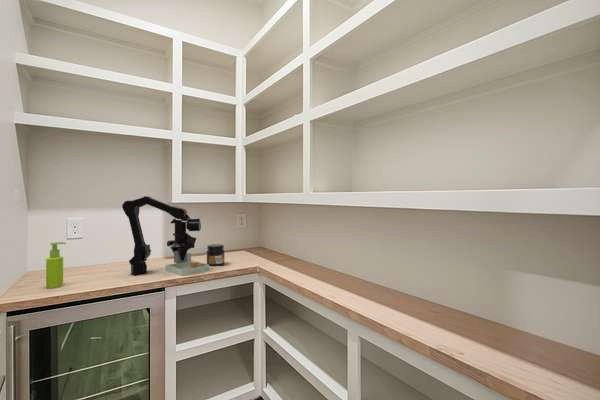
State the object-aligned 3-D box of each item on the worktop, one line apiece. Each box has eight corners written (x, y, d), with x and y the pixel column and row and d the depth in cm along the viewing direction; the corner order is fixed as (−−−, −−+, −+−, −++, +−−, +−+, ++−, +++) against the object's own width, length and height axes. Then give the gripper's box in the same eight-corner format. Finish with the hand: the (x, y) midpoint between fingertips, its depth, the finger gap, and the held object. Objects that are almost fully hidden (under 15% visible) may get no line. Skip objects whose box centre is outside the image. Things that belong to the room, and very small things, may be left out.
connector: (178, 263, 149) (178, 252, 149) (173, 262, 152) (173, 251, 152) (192, 261, 155) (192, 250, 155) (187, 260, 158) (187, 249, 158)
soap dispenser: (66, 285, 129) (66, 242, 129) (46, 289, 124) (46, 244, 125) (65, 283, 133) (65, 241, 134) (45, 286, 129) (45, 242, 129)
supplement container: (220, 267, 164) (220, 246, 164) (203, 267, 165) (203, 246, 165) (227, 263, 175) (227, 244, 175) (211, 263, 176) (211, 243, 176)
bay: (182, 277, 143) (182, 270, 143) (165, 271, 155) (164, 265, 155) (209, 271, 155) (209, 264, 155) (191, 266, 167) (191, 260, 167)
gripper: (203, 231, 153) (203, 260, 153) (185, 229, 164) (185, 255, 164) (184, 233, 144) (184, 263, 144) (166, 230, 156) (166, 259, 155)
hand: (180, 260), depth 152 cm, fingers closed on connector, 4 cm apart
